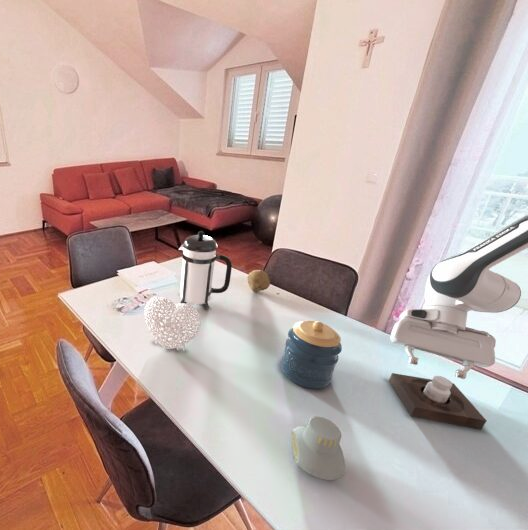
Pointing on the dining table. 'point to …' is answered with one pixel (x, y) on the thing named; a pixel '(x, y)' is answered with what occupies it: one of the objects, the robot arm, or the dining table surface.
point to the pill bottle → (438, 389)
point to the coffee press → (200, 269)
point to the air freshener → (318, 448)
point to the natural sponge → (258, 280)
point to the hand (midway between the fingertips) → (435, 370)
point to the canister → (311, 354)
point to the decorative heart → (171, 322)
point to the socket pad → (435, 403)
